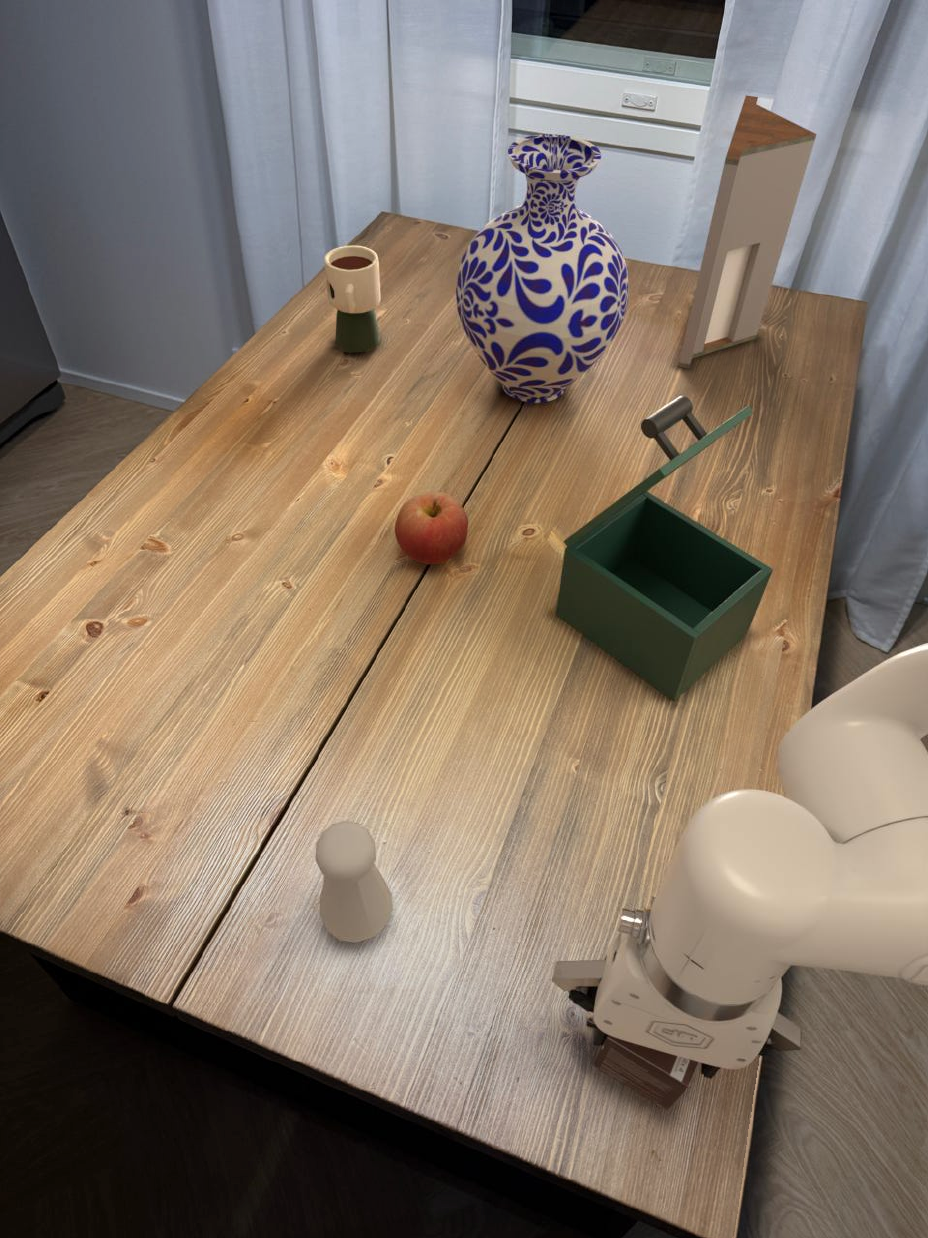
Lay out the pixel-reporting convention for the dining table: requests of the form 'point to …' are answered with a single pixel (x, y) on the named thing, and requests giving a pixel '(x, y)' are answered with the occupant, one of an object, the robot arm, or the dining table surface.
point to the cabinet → (746, 229)
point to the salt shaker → (351, 883)
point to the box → (646, 1070)
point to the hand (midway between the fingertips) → (653, 1039)
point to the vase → (543, 277)
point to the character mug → (354, 296)
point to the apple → (431, 527)
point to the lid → (655, 429)
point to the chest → (660, 593)
